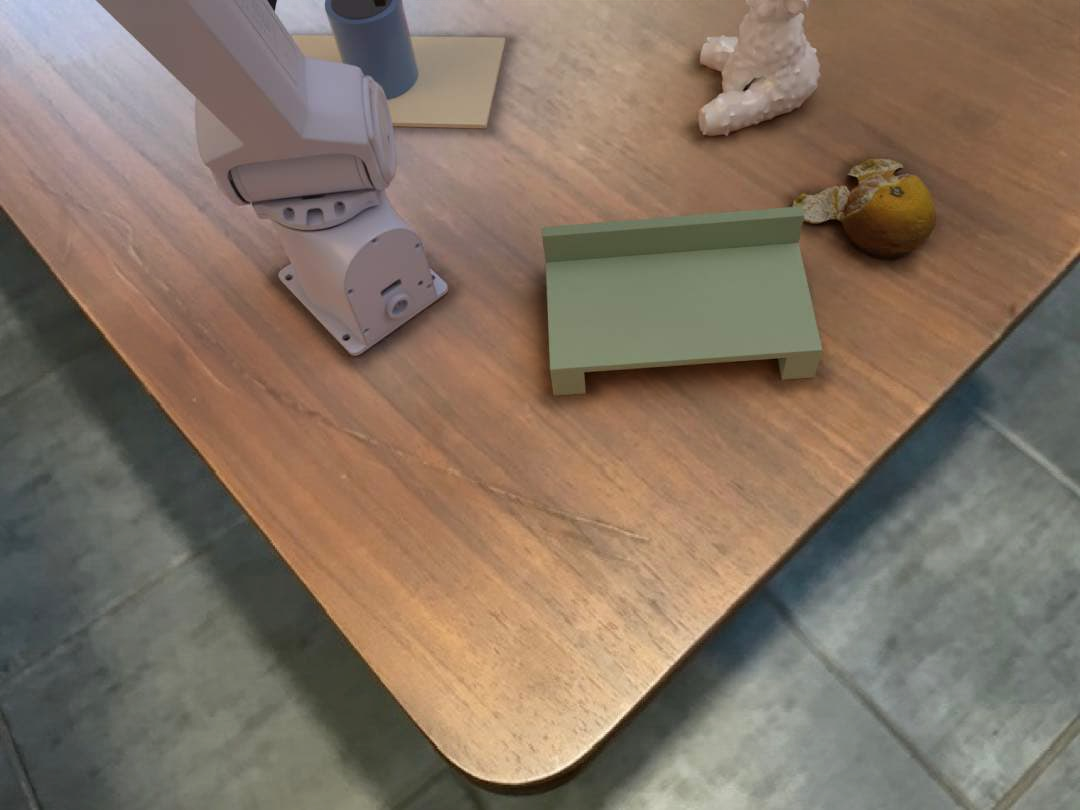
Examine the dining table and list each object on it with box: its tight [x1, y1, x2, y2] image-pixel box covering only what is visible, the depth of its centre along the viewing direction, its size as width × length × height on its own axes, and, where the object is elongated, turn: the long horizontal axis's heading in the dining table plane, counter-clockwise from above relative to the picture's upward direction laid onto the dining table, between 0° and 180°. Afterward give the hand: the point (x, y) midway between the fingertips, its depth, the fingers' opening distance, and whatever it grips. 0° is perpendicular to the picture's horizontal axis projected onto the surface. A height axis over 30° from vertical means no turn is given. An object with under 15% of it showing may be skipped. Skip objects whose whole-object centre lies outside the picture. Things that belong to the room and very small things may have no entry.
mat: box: [291, 34, 507, 129], centre depth 76 cm, size 18×10×1 cm, turn 83°
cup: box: [324, 0, 419, 100], centre depth 73 cm, size 6×6×7 cm
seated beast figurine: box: [697, 0, 822, 137], centre depth 67 cm, size 10×9×12 cm
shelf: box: [541, 206, 823, 397], centre depth 59 cm, size 9×16×6 cm, turn 92°
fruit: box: [791, 158, 937, 259], centre depth 63 cm, size 8×8×4 cm
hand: (326, 2), depth 66 cm, fingers open, 7 cm apart
